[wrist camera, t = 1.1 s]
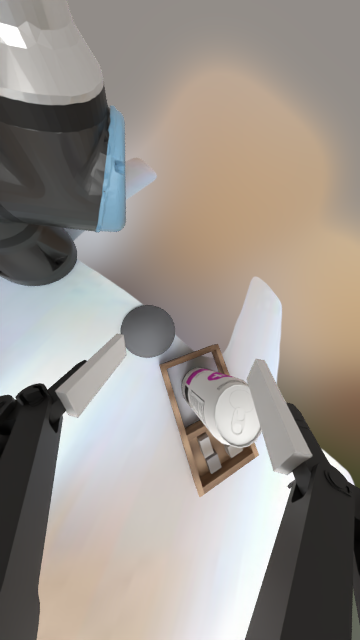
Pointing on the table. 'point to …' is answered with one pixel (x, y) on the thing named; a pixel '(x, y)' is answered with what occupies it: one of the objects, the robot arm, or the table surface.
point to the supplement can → (222, 406)
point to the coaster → (148, 331)
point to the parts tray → (206, 436)
